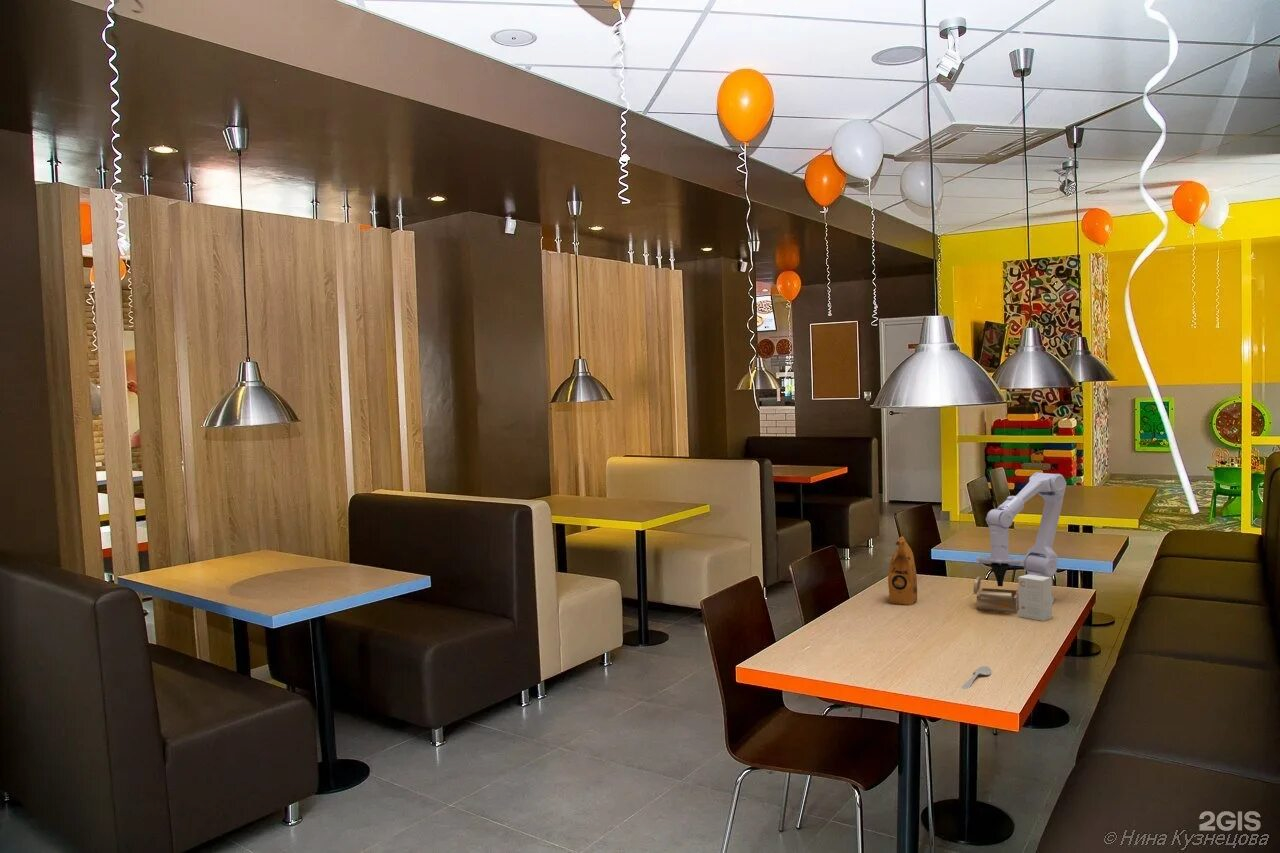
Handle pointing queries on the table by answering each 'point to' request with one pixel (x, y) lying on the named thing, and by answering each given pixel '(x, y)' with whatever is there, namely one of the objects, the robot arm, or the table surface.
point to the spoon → (977, 672)
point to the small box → (1035, 597)
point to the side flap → (977, 585)
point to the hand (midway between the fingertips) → (1000, 585)
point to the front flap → (996, 595)
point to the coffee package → (902, 575)
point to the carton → (998, 602)
